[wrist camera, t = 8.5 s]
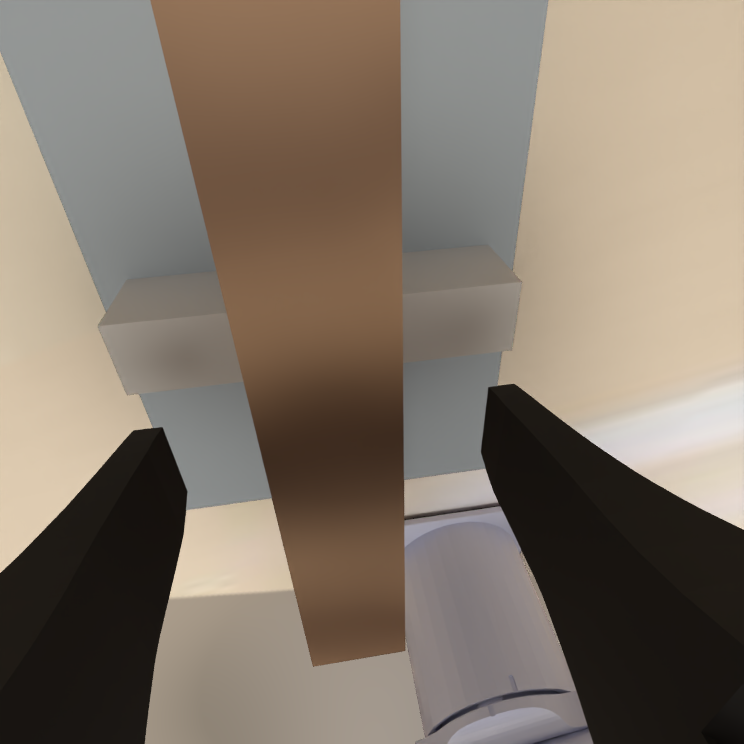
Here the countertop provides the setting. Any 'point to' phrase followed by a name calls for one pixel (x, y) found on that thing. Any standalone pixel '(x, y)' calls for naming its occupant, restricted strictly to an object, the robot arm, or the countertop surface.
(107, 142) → the ridge board
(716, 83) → the countertop surface
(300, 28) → the walnut batten
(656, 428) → the countertop surface
